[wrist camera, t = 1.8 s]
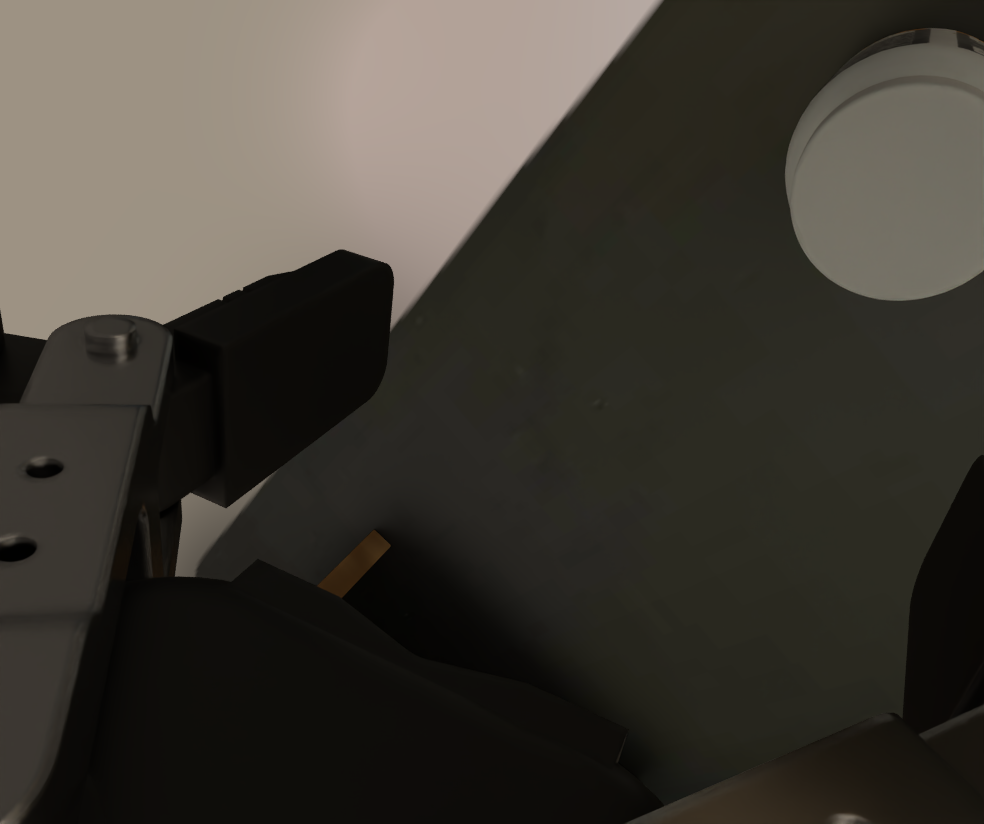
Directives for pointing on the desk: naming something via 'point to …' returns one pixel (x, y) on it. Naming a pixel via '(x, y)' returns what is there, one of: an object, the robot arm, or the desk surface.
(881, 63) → the pill bottle
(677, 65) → the desk surface
